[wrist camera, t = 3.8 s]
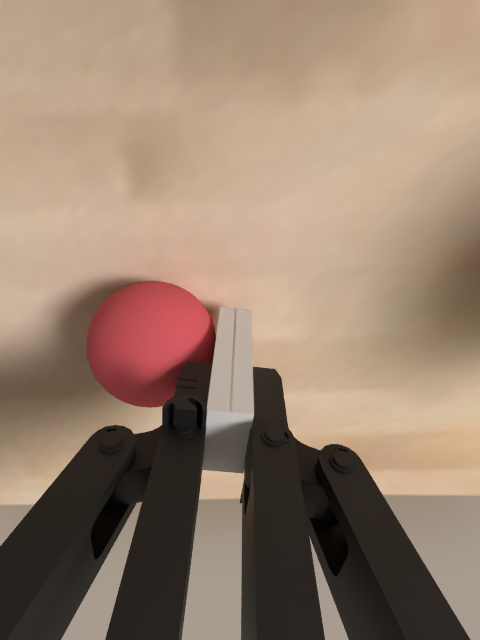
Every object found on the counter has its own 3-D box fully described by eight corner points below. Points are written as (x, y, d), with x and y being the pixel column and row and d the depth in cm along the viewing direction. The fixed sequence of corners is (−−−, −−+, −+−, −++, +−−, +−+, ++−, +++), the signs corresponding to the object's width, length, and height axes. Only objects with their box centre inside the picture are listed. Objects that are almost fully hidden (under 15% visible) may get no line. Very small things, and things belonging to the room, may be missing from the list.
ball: (136, 345, 20) (64, 408, 15) (134, 252, 17) (45, 295, 13) (227, 375, 19) (177, 453, 14) (240, 280, 16) (184, 339, 11)
